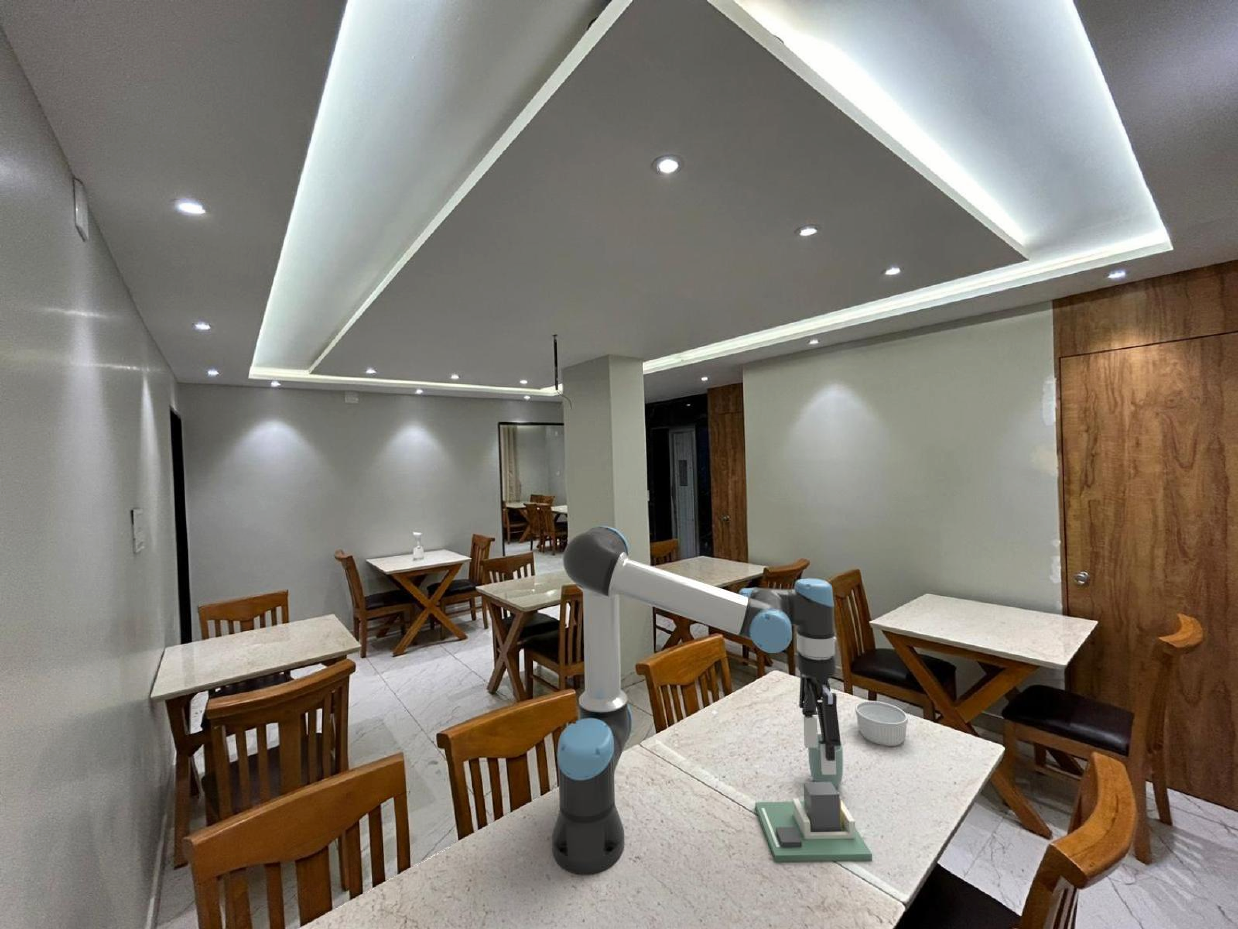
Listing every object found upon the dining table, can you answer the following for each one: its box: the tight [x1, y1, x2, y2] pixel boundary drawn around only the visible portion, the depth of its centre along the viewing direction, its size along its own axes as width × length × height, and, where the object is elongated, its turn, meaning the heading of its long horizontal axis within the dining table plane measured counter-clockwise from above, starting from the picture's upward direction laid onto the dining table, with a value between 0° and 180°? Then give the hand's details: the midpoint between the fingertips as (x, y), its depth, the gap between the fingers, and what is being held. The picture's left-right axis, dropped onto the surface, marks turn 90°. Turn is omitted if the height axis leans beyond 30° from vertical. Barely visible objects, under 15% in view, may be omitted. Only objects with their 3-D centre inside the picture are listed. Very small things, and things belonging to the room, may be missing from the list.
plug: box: [803, 781, 842, 832], centre depth 102 cm, size 7×4×8 cm, turn 90°
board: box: [754, 797, 873, 863], centre depth 102 cm, size 19×15×5 cm
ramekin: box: [855, 700, 909, 747], centre depth 137 cm, size 13×13×7 cm
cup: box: [807, 733, 844, 789], centre depth 117 cm, size 8×8×10 cm
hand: (819, 759), depth 102 cm, fingers open, 9 cm apart
